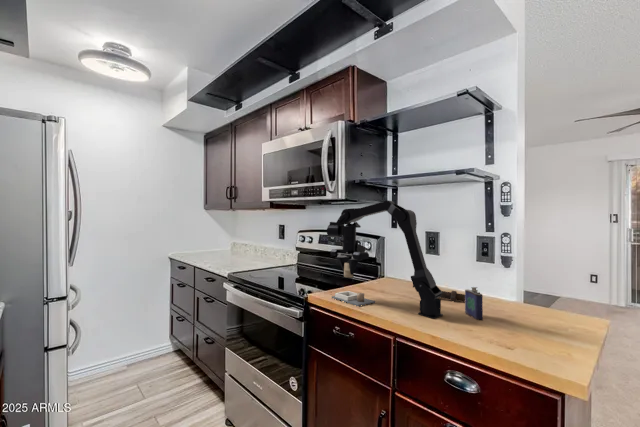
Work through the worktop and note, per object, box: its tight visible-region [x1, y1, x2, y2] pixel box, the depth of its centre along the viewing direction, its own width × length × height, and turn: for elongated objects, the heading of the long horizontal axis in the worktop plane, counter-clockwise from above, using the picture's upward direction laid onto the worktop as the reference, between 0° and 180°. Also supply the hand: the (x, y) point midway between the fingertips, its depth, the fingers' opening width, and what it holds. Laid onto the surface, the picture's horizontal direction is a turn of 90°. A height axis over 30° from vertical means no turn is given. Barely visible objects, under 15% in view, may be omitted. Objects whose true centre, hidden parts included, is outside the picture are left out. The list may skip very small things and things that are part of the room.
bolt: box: [439, 290, 465, 303], centre depth 136 cm, size 6×5×15 cm
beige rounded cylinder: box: [343, 261, 354, 279], centre depth 134 cm, size 4×4×6 cm
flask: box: [464, 286, 484, 322], centre depth 112 cm, size 9×3×11 cm, turn 4°
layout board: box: [331, 290, 376, 307], centre depth 132 cm, size 16×10×4 cm, turn 38°
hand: (348, 274), depth 134 cm, fingers closed on beige rounded cylinder, 4 cm apart
